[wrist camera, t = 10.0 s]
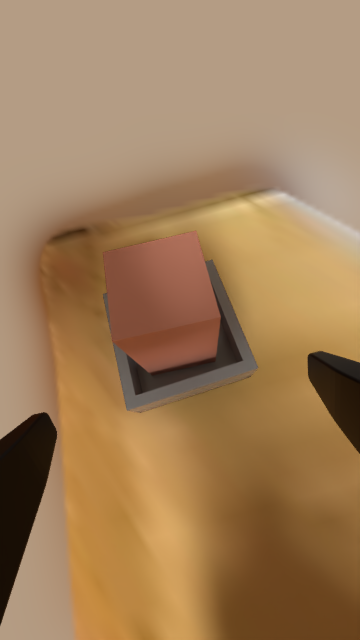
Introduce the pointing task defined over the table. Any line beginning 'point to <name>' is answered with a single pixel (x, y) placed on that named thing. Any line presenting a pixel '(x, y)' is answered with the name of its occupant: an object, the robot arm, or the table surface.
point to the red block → (162, 303)
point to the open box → (190, 381)
